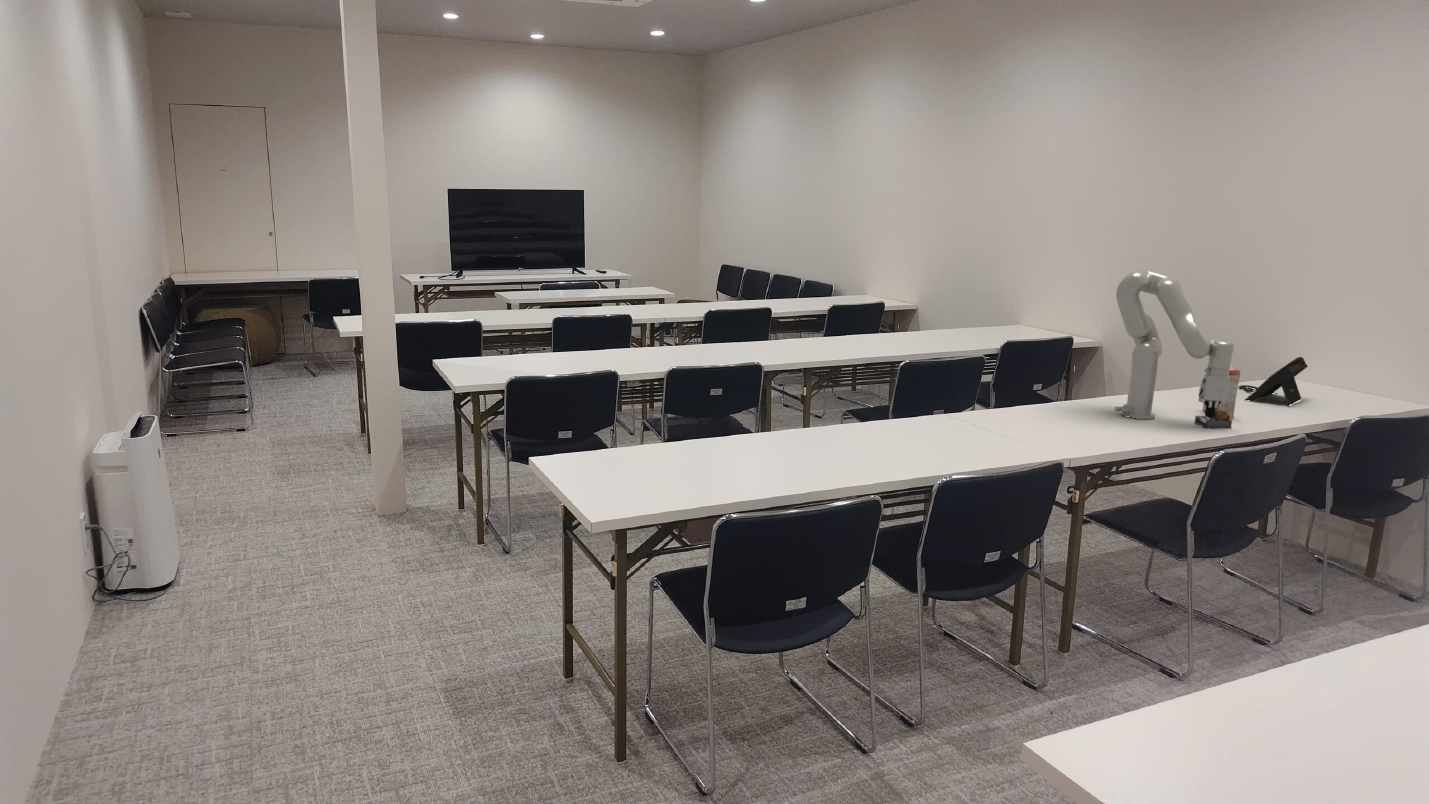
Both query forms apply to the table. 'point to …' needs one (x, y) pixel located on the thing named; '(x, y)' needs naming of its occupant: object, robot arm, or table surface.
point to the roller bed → (1213, 422)
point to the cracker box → (1230, 403)
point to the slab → (1220, 414)
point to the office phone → (1280, 382)
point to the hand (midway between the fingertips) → (1209, 416)
